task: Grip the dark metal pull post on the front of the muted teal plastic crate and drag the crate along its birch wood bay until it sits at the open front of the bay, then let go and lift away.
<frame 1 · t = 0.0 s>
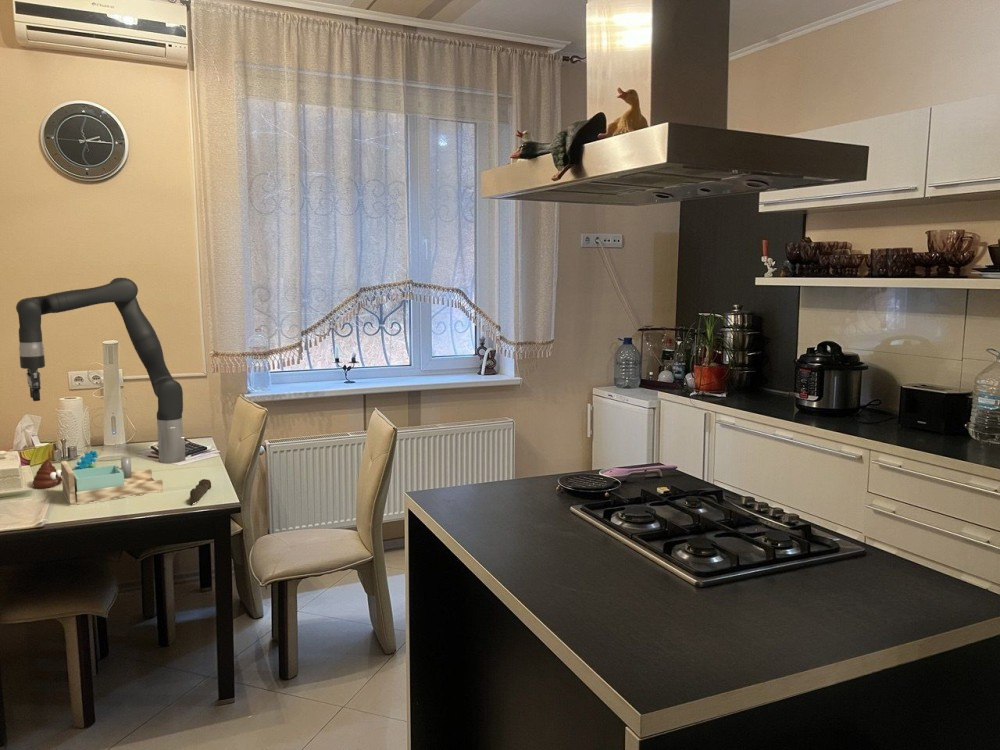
hand: (35, 399, 269), 29 cm above the table, tool pointing down, fingers open, 8 cm apart
dark brown lumpy rod: (200, 498, 253), on the table
crate: (103, 475, 254), point 6 cm above the table, slide at 0.0 cm
gear: (87, 472, 282), on the table
bay: (113, 492, 257), on the table
poop emoji: (48, 486, 264), on the table
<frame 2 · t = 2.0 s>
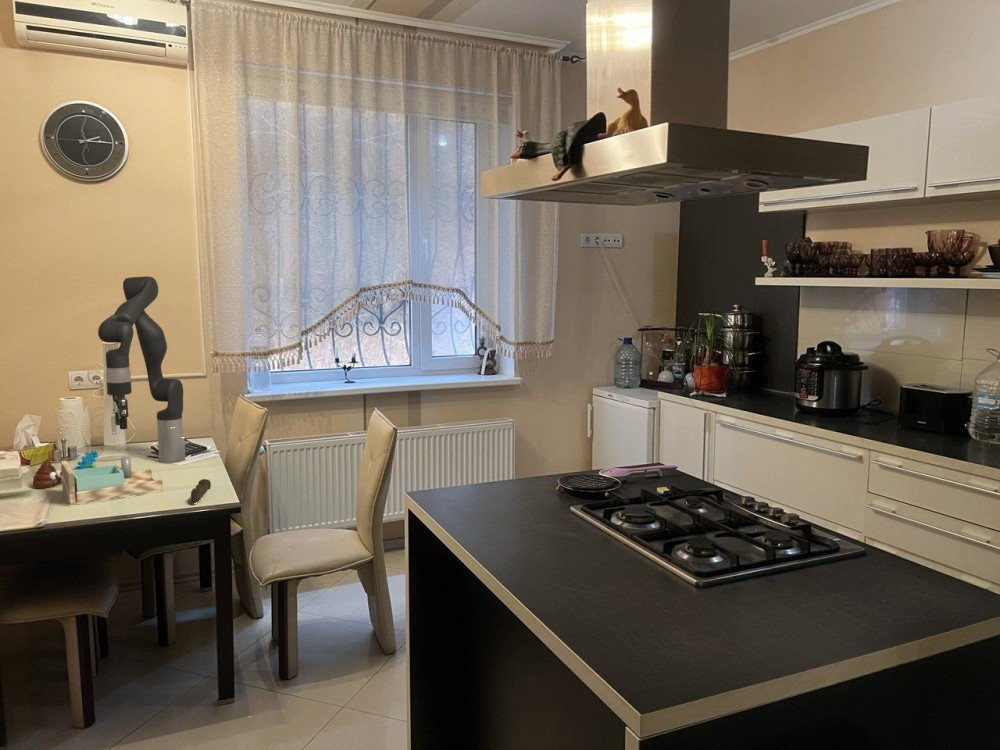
hand: (121, 427, 256), 22 cm above the table, tool pointing down, fingers open, 8 cm apart
nothing on the table moved.
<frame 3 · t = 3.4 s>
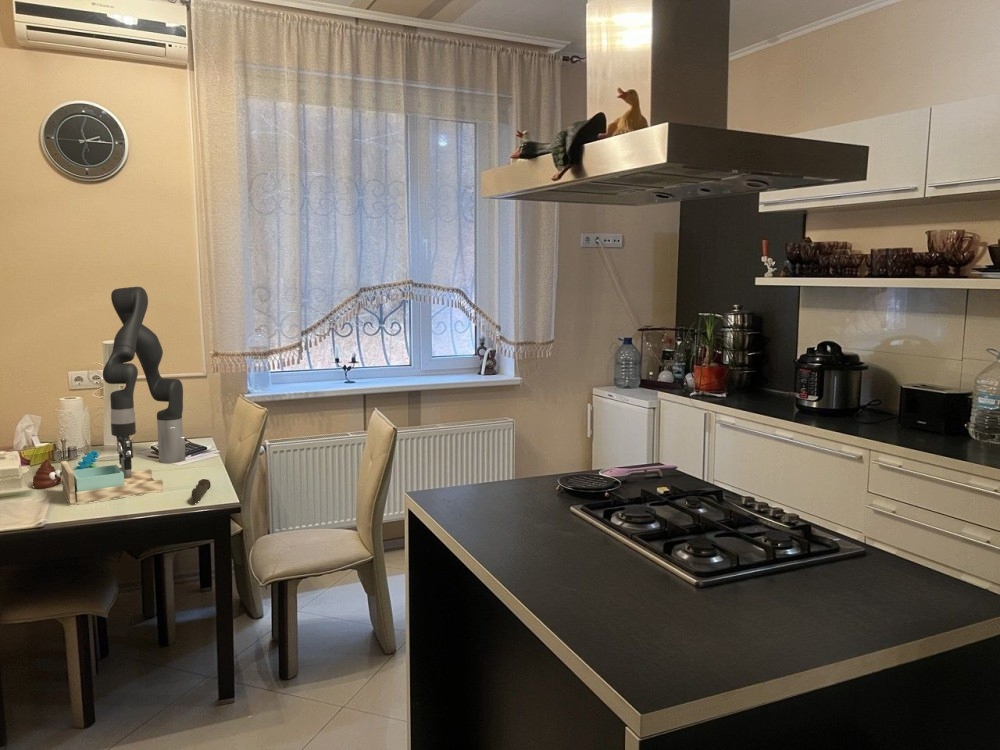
hand: (125, 466, 258), 8 cm above the table, tool pointing down, fingers open, 8 cm apart
nothing on the table moved.
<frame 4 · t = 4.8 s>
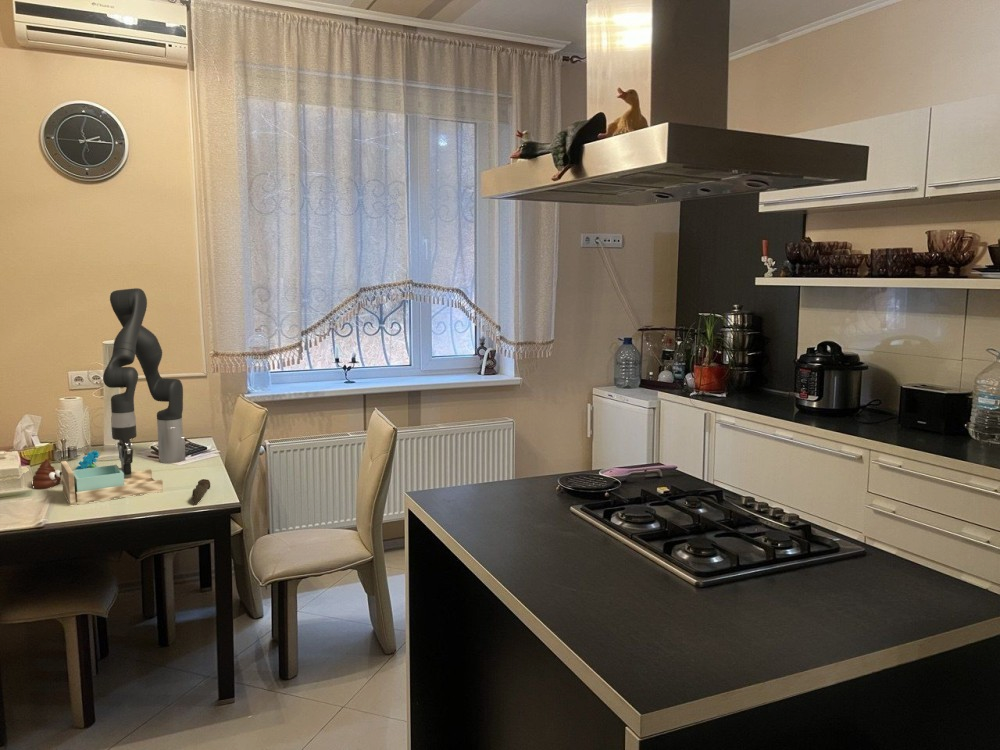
hand: (126, 473, 259), 6 cm above the table, tool pointing down, fingers closed on crate, 3 cm apart
crate: (103, 475, 254), point 6 cm above the table, slide at 0.0 cm, touching gripper
everything else where it was.
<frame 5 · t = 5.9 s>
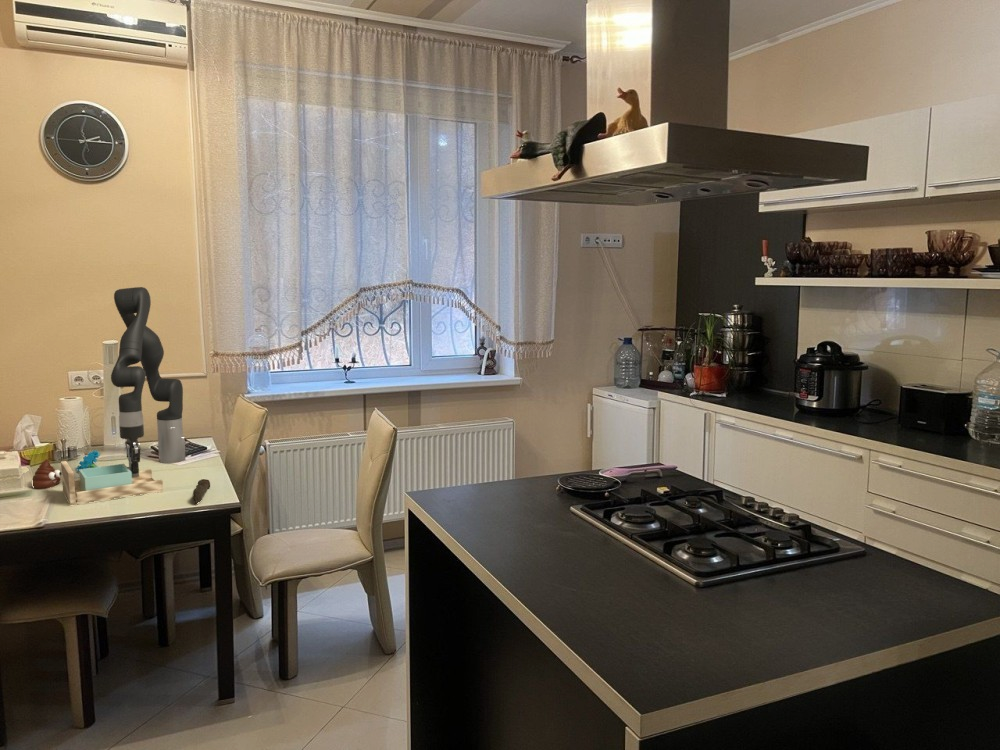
hand: (134, 471, 260), 6 cm above the table, tool pointing down, fingers closed on crate, 3 cm apart
crate: (111, 474, 256), point 6 cm above the table, slide at 2.4 cm, touching gripper
everything else where it was.
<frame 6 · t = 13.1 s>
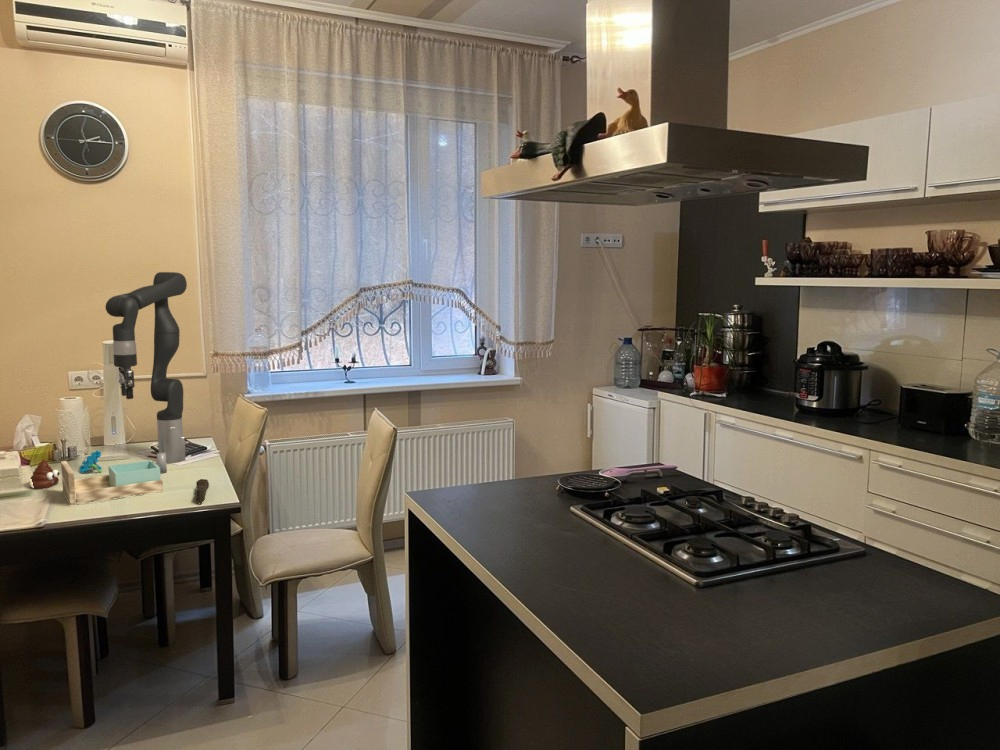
hand: (127, 397, 271), 30 cm above the table, tool pointing down, fingers open, 8 cm apart
crate: (139, 470, 261), point 6 cm above the table, slide at 11.5 cm
at the end: crate slide at 11.5 cm; poop emoji moved 1.1 cm from its start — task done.
